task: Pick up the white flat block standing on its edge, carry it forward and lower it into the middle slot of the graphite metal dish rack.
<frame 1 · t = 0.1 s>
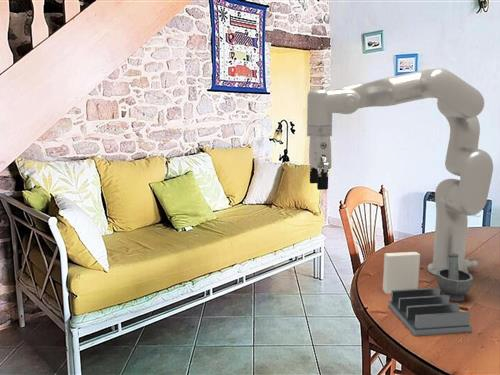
hand: (318, 186, 138), 31 cm above the table, tool pointing down, fingers open, 9 cm apart
rack: (427, 318, 119), on the table
mortar and pestle: (452, 296, 132), on the table
white flat block: (400, 291, 136), on the table
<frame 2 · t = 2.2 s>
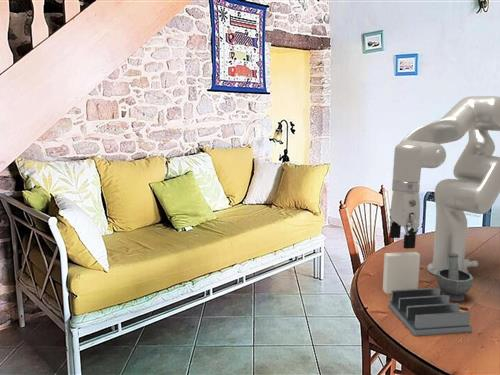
hand: (401, 242, 132), 16 cm above the table, tool pointing down, fingers open, 9 cm apart
nothing on the table moved.
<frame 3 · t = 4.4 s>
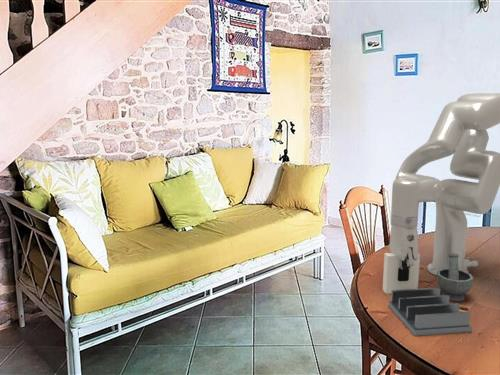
hand: (400, 278, 135), 4 cm above the table, tool pointing down, fingers closed on white flat block, 2 cm apart
white flat block: (400, 291, 136), on the table, touching gripper
everything else where it was.
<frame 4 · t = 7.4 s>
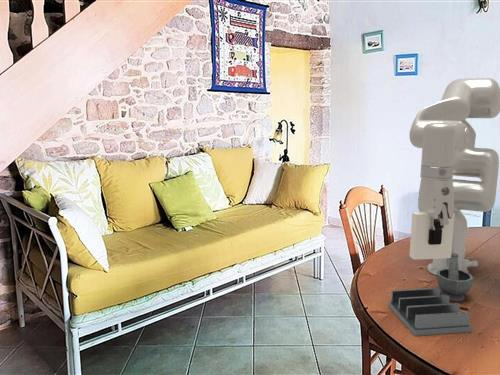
hand: (431, 241, 115), 21 cm above the table, tool pointing down, fingers closed on white flat block, 2 cm apart
white flat block: (430, 257, 116), point 17 cm above the table, touching gripper
everything else where it was.
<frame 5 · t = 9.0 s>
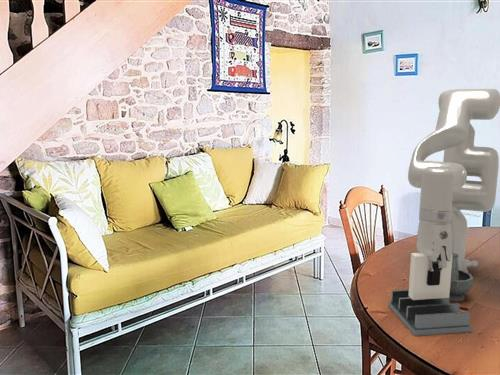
hand: (430, 281, 117), 11 cm above the table, tool pointing down, fingers closed on white flat block, 2 cm apart
white flat block: (428, 296, 118), point 6 cm above the table, touching gripper
everything else where it was.
when the fingers open (7 cm above the table, at t = 10.3 s): white flat block stays where it is, resting on rack.
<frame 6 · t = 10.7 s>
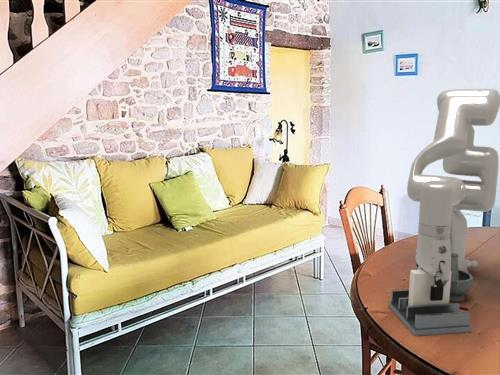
hand: (429, 293, 117), 7 cm above the table, tool pointing down, fingers open, 6 cm apart
white flat block: (427, 313, 119), point 1 cm above the table, touching rack
everything else where it was.
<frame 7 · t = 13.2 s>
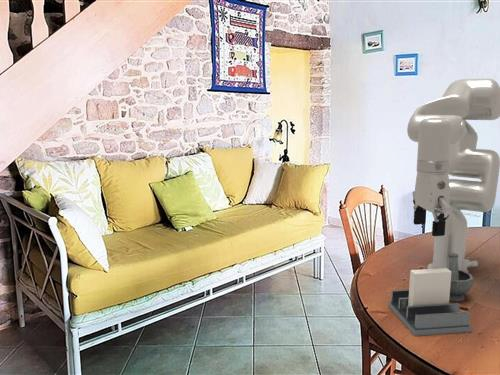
hand: (428, 229, 118), 24 cm above the table, tool pointing down, fingers open, 9 cm apart
nothing on the table moved.
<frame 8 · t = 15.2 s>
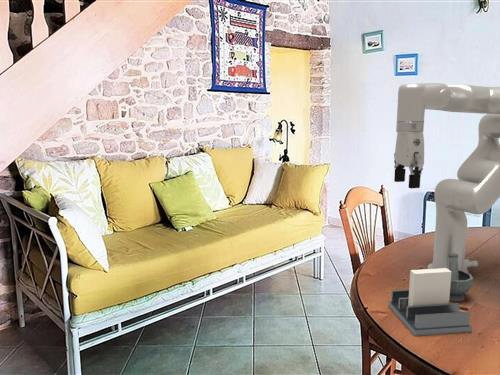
hand: (406, 184, 133), 32 cm above the table, tool pointing down, fingers open, 9 cm apart
nothing on the table moved.
at the end: white flat block 0.0 cm off-centre on the rack, point 1.5 cm above the rack's base; white flat block tilted 0°; the gripper is holding nothing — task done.
